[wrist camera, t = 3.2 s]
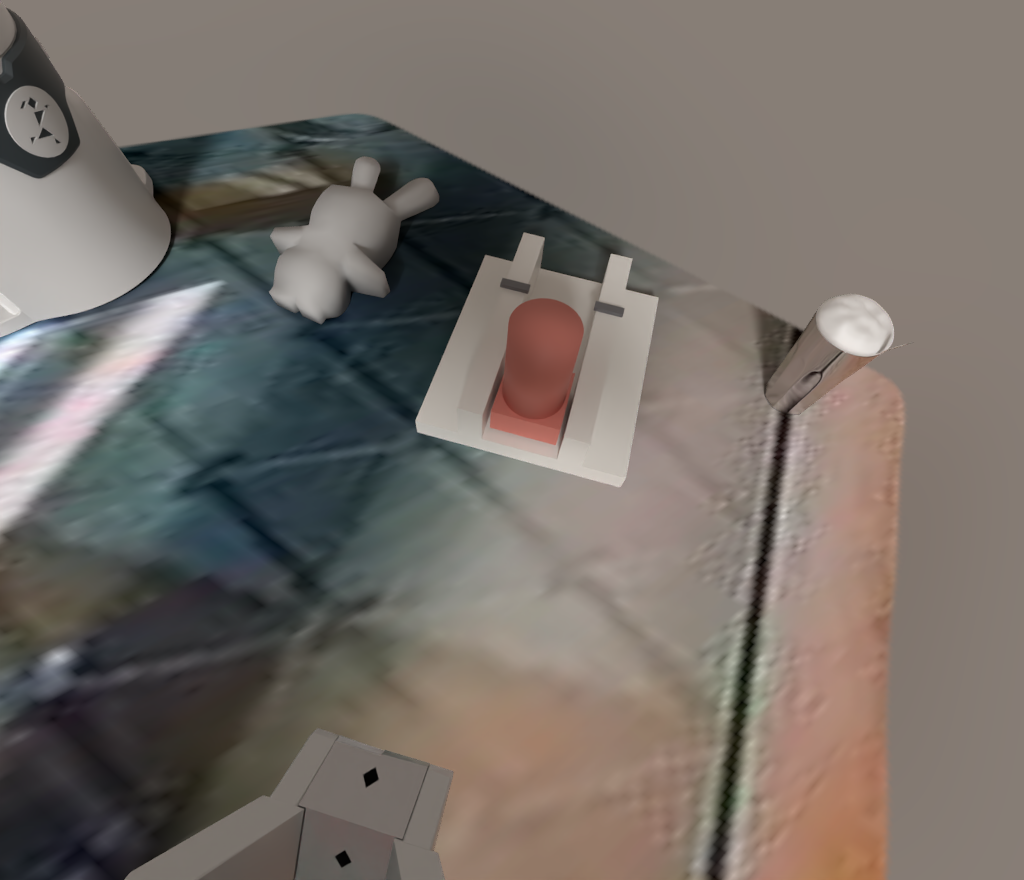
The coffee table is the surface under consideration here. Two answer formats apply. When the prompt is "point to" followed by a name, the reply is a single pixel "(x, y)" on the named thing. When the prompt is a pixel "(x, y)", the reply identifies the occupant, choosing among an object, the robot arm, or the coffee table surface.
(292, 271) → the bunny figurine
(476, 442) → the white slider track base
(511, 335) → the red plug
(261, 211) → the coffee table surface
